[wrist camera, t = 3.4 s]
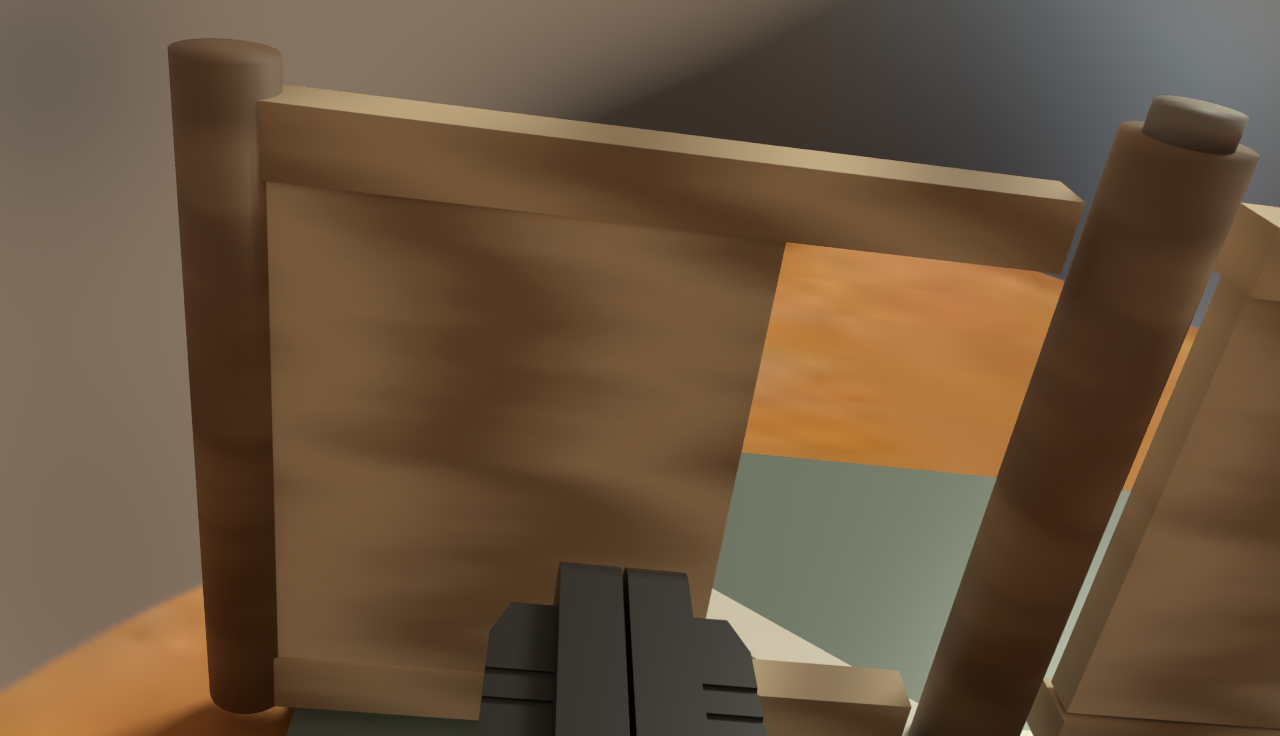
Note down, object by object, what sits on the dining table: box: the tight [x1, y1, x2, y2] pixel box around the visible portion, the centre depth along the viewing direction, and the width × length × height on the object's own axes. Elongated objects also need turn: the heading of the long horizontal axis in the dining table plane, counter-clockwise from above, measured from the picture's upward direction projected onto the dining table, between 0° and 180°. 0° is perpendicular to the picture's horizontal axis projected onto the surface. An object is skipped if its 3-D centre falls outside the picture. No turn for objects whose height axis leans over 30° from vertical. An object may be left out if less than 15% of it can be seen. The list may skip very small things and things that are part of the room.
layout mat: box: [286, 453, 1131, 736], centre depth 29 cm, size 28×20×1 cm
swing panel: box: [168, 38, 1085, 736], centre depth 22 cm, size 16×2×14 cm, turn 92°
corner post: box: [908, 95, 1260, 736], centre depth 23 cm, size 2×2×16 cm
